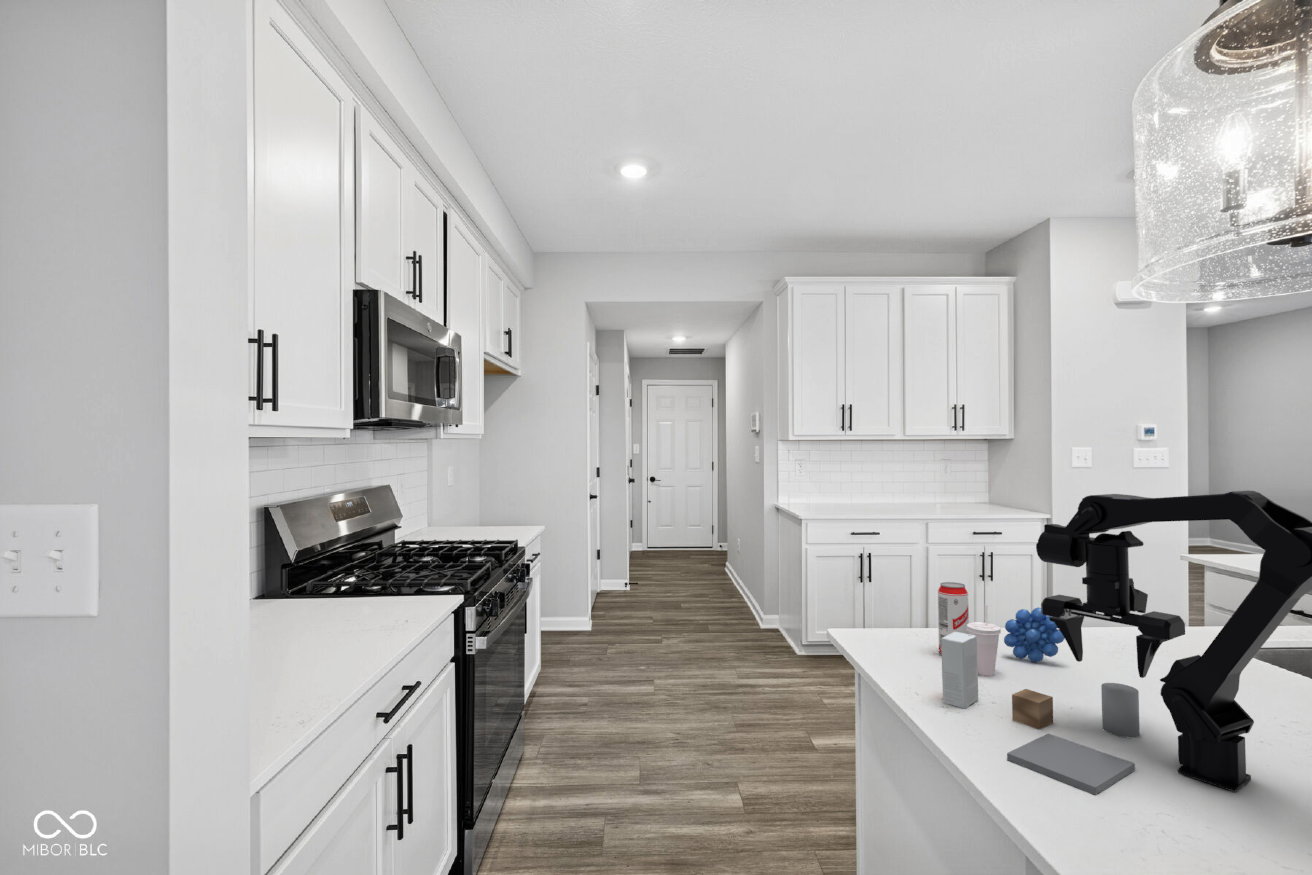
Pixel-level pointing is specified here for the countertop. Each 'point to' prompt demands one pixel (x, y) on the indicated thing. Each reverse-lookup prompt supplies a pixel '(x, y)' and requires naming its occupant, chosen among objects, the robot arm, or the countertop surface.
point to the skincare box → (959, 669)
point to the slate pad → (1071, 763)
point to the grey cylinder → (1120, 710)
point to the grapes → (1032, 635)
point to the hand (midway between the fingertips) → (1109, 668)
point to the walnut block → (1032, 708)
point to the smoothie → (985, 644)
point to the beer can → (952, 609)
